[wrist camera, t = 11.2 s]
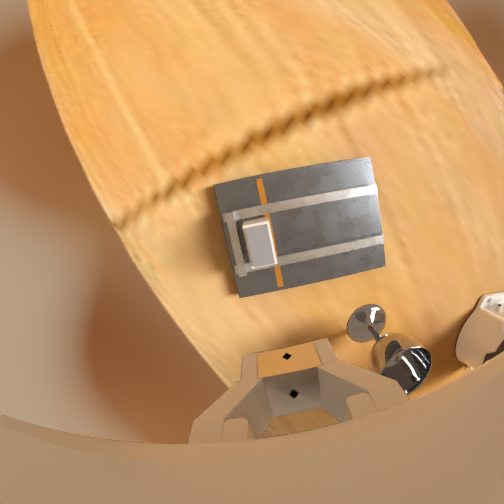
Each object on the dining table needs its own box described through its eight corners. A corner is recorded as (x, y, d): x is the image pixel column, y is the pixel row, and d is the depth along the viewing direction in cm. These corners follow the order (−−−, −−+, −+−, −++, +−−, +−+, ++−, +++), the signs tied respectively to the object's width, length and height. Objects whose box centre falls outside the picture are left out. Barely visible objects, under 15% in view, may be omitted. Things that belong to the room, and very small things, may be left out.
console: (364, 158, 37) (378, 154, 33) (380, 262, 41) (394, 271, 36) (215, 185, 39) (210, 184, 34) (240, 293, 42) (238, 306, 37)
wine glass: (336, 337, 43) (365, 394, 29) (359, 294, 42) (402, 340, 27) (372, 349, 44) (408, 402, 29) (396, 310, 42) (442, 354, 28)
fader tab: (266, 216, 37) (269, 221, 31) (273, 252, 38) (278, 265, 32) (244, 220, 37) (242, 227, 31) (252, 256, 38) (251, 270, 32)
